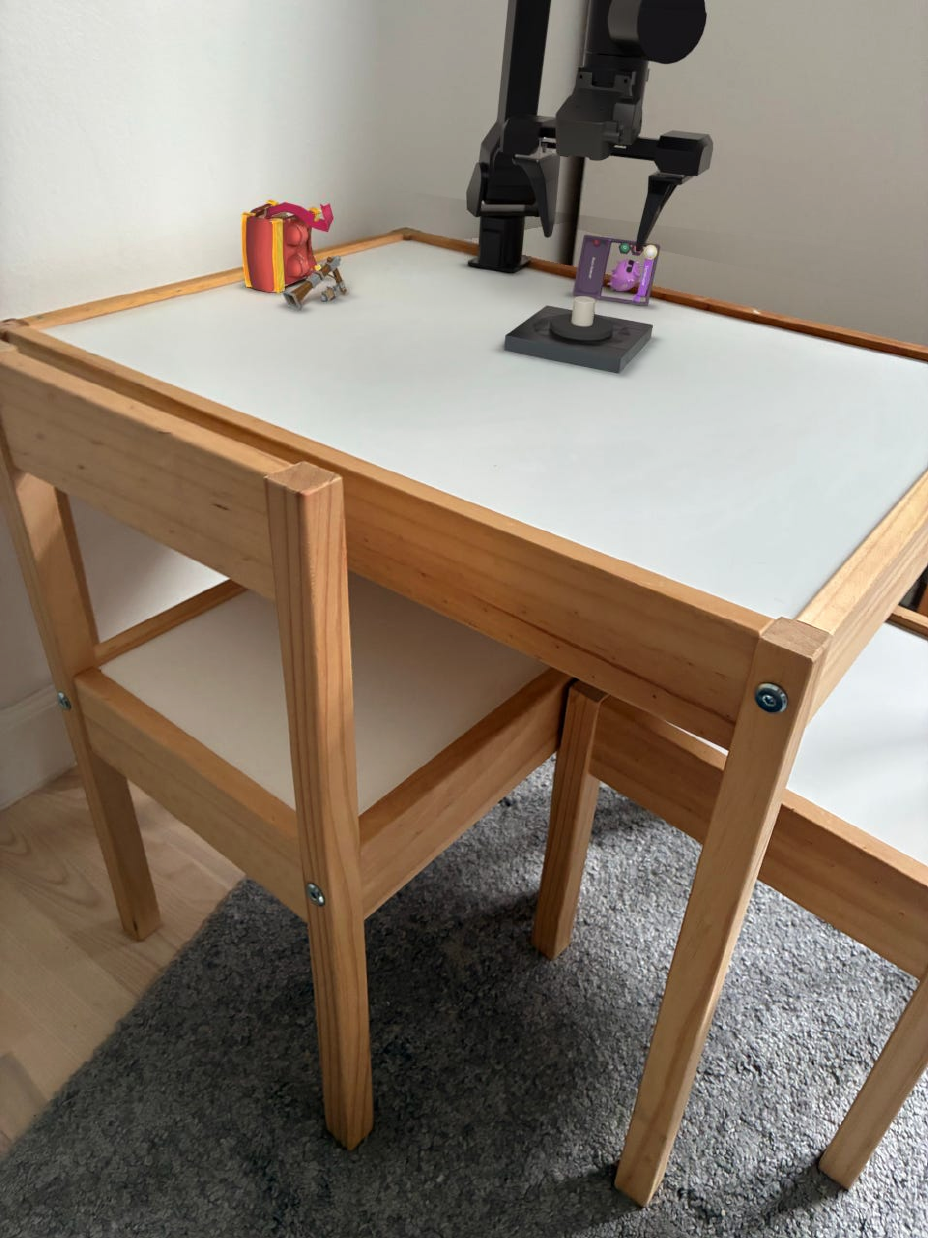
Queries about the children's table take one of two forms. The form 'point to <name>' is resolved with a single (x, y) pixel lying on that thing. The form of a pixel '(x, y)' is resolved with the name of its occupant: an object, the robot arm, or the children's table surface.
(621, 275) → the game card
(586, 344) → the sink plate
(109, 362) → the children's table surface
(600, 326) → the stopper
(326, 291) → the toy blunderbuss
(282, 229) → the book monster
